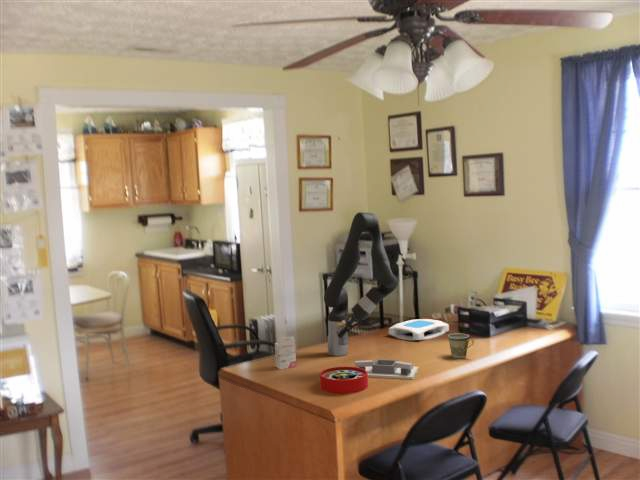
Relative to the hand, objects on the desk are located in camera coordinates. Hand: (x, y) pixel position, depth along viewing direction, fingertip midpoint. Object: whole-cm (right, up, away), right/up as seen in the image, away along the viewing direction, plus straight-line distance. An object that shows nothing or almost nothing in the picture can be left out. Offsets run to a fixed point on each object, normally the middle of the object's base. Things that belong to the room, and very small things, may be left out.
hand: (338, 335), depth 299 cm
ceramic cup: (+59, -13, +17) cm, 63 cm away
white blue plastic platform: (+46, -10, +66) cm, 81 cm away
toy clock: (+2, -19, -21) cm, 28 cm away
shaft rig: (+21, -16, -4) cm, 27 cm away
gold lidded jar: (+2, -4, 0) cm, 4 cm away
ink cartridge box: (-24, -17, +11) cm, 32 cm away
